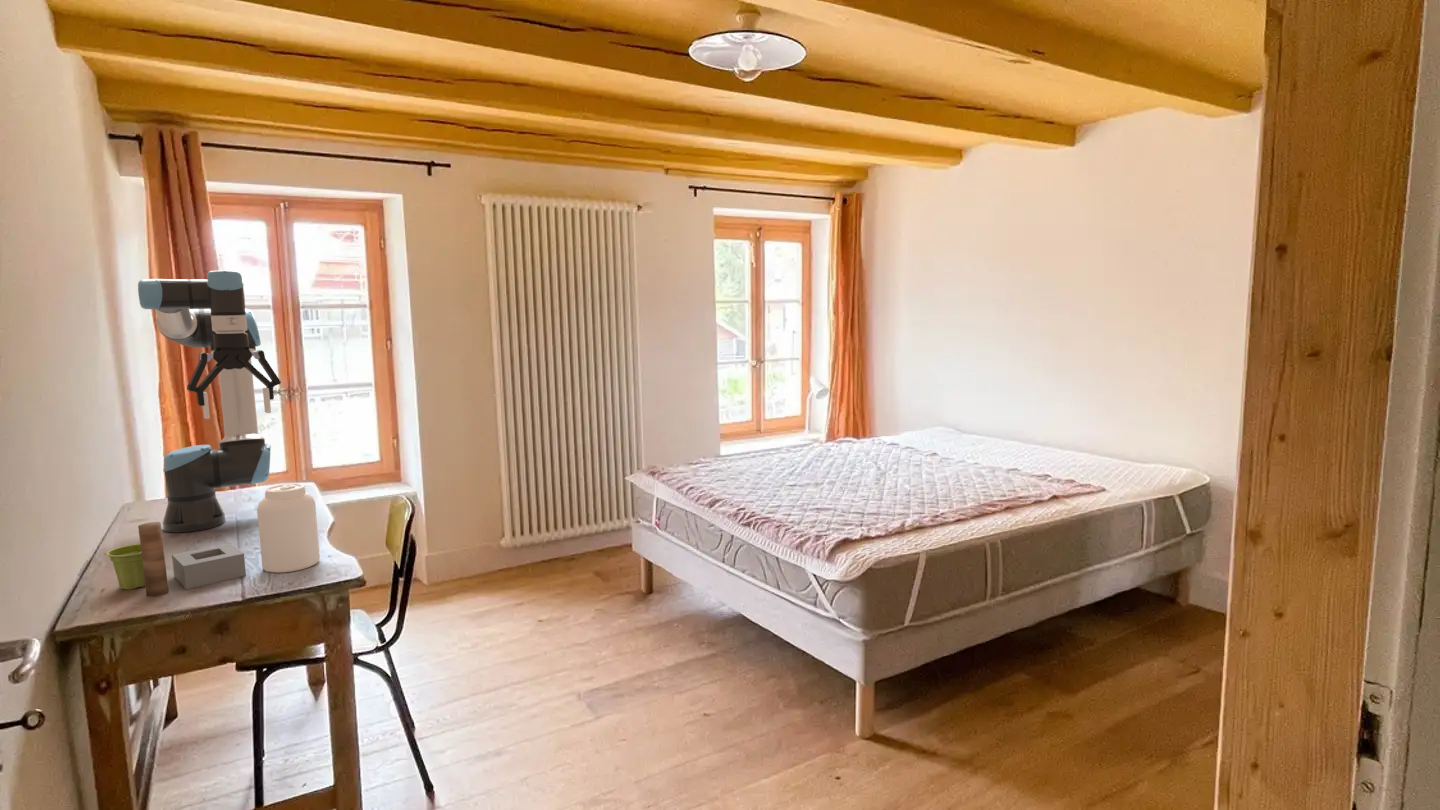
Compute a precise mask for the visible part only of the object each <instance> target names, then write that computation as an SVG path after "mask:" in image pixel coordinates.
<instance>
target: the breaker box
mask: <svg viewBox="0 0 1440 810" xmlns="http://www.w3.org/2000/svg"><path fill="white" fill-rule="evenodd" d="M171 558H172V568H173V569H172V571H173V577H174V578H175V580H177V581H178V582H179V584H180V585H181V586H182V587H183V588H184V589H185V590H190V589H194V588H198V587H203V586H207V585H210V584H215V583H220V582H225V581H229V580H232V579H237V578H242V577H246V576H247V571H246V561H245V552H244V551H243V552H242V551H241V550H240V549H239V548H237V546H235V545H233V544H232V543H230V542H229V543H228V542H227V543H223V544H222V543H221V544H217V545H213V546H209V547H203V548H198V549H194V550H188V551H183V552H178V553H174V554H171Z"/></svg>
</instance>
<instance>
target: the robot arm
mask: <svg viewBox="0 0 1440 810" xmlns="http://www.w3.org/2000/svg"><path fill="white" fill-rule="evenodd" d="M206 277H207V279H185V278H184V279H174V278H173V279H172V278H170V279H169V278H166V279H165V278H156V277H155V278H148V279H147V278H146V279H141V280H140V279H139V281H138V283H137V293H138V294H137V295H138V299H139V301H138V302H139V305H140V308H142V309H143V310H152V311H155V313H156V319H155V320H156V322H155V323H156V327H157V329H158V331H159V332H160V334H161V335H162V336H163V337H164V338H166V339H168V340H170V342H173V343H176V344H179V345H181V346H185V347H190V348H191V347H192V348H210V353H206V352H200V353H199V358H198V363H197V365H196V367H195V369H194V372H193V374H192V375H191V378H190V380H189V382H188V384H187V386H186V390H188V391H190V392H194V393H196V401H197V405H198V406H200V407H202V414H203V418H204V419H205V420H210V419H211V417H210V416H211V415H210V405H209V396H208V395H209V394H208V392H206V390H207V388H208V387H210V384H212V382H213V381H214V380H215V379H216V377H217V376H218V375H219V376H218V378H219V386H220V387H219V388H220V396H221V397H220V399H221V409H222V417H223V419H222V420H223V428H224V429H223V431H224V437H223V438H222V439H221V440H220V442H219V448H213V447H212V446H211V444H199V445H198V444H197V445H192V446H187V447H182V448H179V449H175V450H172V451H170V452H168V453H167V454H165V456H164V458H163V472H164V477H165V488H166V495H167V496H166V497H167V507H166V510H165V513H164V516H163V519H162V529H163V532H167V533H189V532H196V531H197V532H198V531H202V530H206V529H207V530H208V529H212V528H215V527H217V526H220V525H223V524H225V522H226V515H225V512H224V510H223V508H222V506H221V505H220V503H219V501H218V499H217V495H216V489H219V488H221V489H222V488H228V487H238V486H245V485H246V486H247V485H248V486H249V485H250V486H252V485H254V484H255V485H256V484H259V483H260V484H261V483H265V482H267V480H268V479H269V477H270V468H271V465H270V464H271V444H270V443H266V441H265V439H266V438H265V437H263V436H262V435H260V434H259V430H258V418H257V417H258V416H257V407H256V397H255V385H254V377H255V378H256V379H258V380H259V382H261V383H262V384H264V387H262V396H263V407H264V413H267V414H271V413H272V407H271V406H272V405H271V400H272V401H273V400H274V399H275V393H274V387H276V386H278V385H281V383H282V382H281V379H279V377H278V376H277V374H276V372H275V371H274V370H273V368H272V366H271V365H270V363H269V362H268V360H267V359H266V356H265V355H266V354H265V351H264V350H261V349H256V347H259V346H261V342H262V341H261V338H260V333H259V329H258V325H257V320H256V318H255V315H254V313H253V311H252V310H251V309H248V308H246V299H245V287H244V286H245V284H244V278H243V275H242V272H240V271H238V270H210V271H208V272H207V276H206ZM252 357H253V358H254V359H256V360H257V361H258V363H259V364H260V365H261V367H262V368H263V369H264V371H265V373H266V374H267V376H268V377H269V378H270V380H269V379H268V377H266V376H265V375H263V374H262V372H260V371H259V370H258V369H257V368H255V367H254V365H253V364H252ZM212 359H213V360H214V361H215V362H216V364H215V365H213V367H212V369H211V371H210V372H209V373H208V374H207V375H206V376H205V378H203V380H202V381H201V382H200V384H199V385H198V383H199V381H200V379H201V378H202V375H203V373H204V371H205V368H206V366H207V364H208V363H209V362H210V361H211V360H212ZM253 376H254V377H253Z"/></svg>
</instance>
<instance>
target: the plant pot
mask: <svg viewBox="0 0 1440 810" xmlns="http://www.w3.org/2000/svg"><path fill="white" fill-rule="evenodd" d="M106 555H107V556H108V557H109V559H110V561H111V562H112V565H113V568H114V572H115V575H116V578H117V582H118V585H119V587H120V589H122V590H135V589H137V588H140V587H143V588H145V579H144V571H143V562H142V554H141V546H140V543H136V544H130V545H123V546H121V547H120V546H119V547H116V548H113V549H111V550H109V551H107V552H106Z"/></svg>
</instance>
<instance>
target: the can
mask: <svg viewBox="0 0 1440 810" xmlns="http://www.w3.org/2000/svg"><path fill="white" fill-rule="evenodd" d="M256 513H257V523H258V534H259V535H258V536H259V544H260V556H261V567H262V568H263V570H264V571H265V572H268V573H277V574H279V573H282V574H283V573H291V572H296V571H300V570H301V571H302V570H304V569H307V568H310V567H312V566H314V565H315V566H316V564H318V563H319V561H320V557H321V555H320V544H319V543H320V541H319V532H318V530H319V529H318V521H317V506H316V500H315V498H314V496H313V495H311V494H310V493H308V492H307V491H306V487H305V485H303V484H298V483H286V484H279V485H273V486H271V487H268V488H267V489H266V490H265V492H264V497H263V498H262V499H261V500H260V501H259V502H258V505H257V510H256Z"/></svg>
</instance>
